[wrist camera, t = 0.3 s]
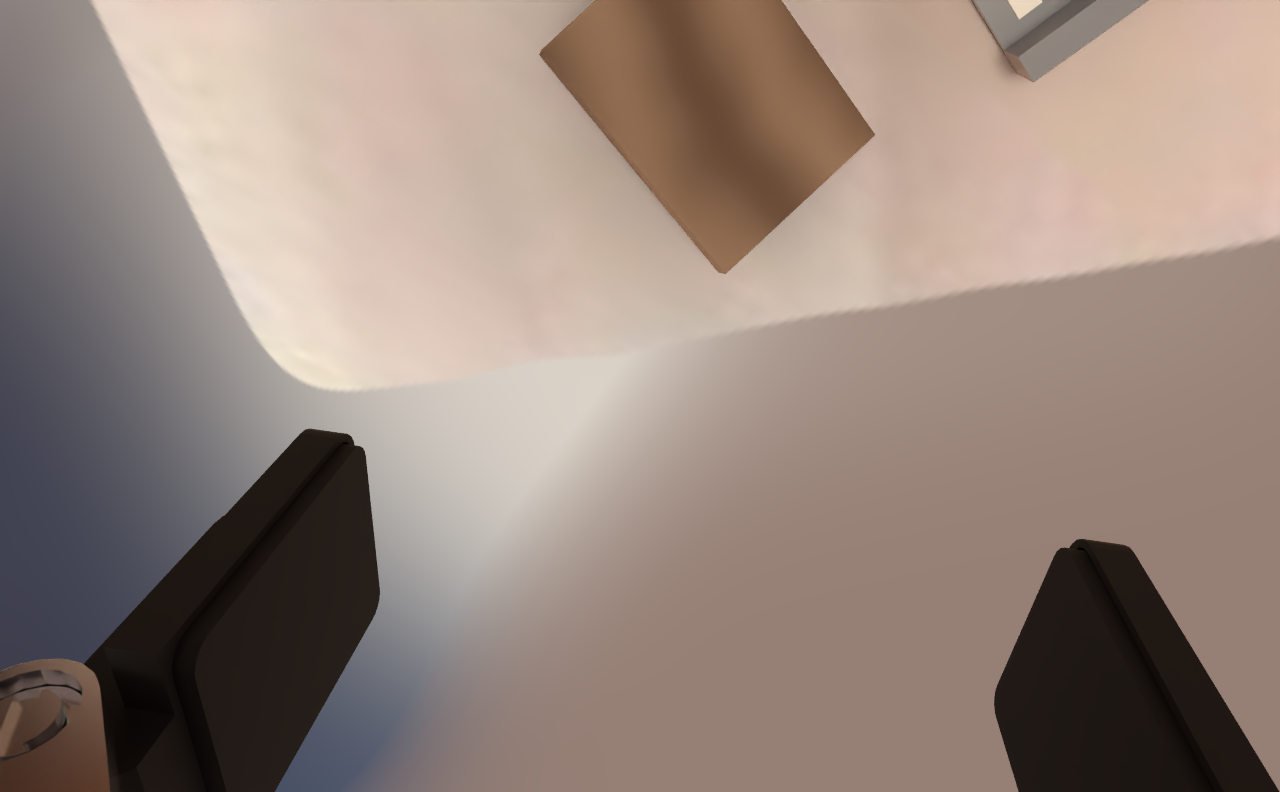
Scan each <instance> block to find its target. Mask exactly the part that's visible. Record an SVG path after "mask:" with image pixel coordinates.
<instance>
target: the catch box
mask: <svg viewBox="0 0 1280 792" xmlns="http://www.w3.org/2000/svg"><path fill="white" fill-rule="evenodd" d="M972 1H973V3H974V5H975V6H976V8H977V10H978V11H979V13H980V14H981V16H982V18H983V19H984V21H985V23H986V24H987V26H988V28H989V29H990V31H991V32H992V34H993V36H994V37H995V39H996V41H997V42H998V44H999V45H1000V47H1001V49H1002V50H1003V52H1004V54H1005V55H1006V57H1007V59H1008V60H1009V62H1010V63H1011V65H1012V67H1013V68H1014V70H1015V72H1016V73H1017V74H1019V75H1021V76H1023V77H1025V78H1027V79H1028V80H1030V81H1032V82H1035V81H1036V80H1037V79H1039V78H1040V77H1042V76H1043V75H1044V74H1046V73H1047V72H1049V71H1050V70H1051V69H1053V68H1054V67H1056V66H1057V65H1059V64H1060V63H1061V62H1063V61H1064V60H1066V59H1067V58H1068V57H1070V56H1071V55H1073V54H1074V53H1075V52H1077V51H1078V50H1080V49H1081V48H1083V47H1084V46H1085V45H1087V44H1088V43H1090V42H1091V41H1092V40H1094V39H1095V38H1097V37H1098V36H1099V35H1101V34H1102V33H1104V32H1105V31H1106V30H1108V29H1109V28H1111V27H1112V26H1114V25H1115V24H1116V23H1118V22H1119V21H1121V20H1122V19H1123V18H1125V17H1126V16H1128V15H1129V14H1130V13H1132V12H1133V11H1135V10H1136V9H1137V8H1139V7H1140V6H1142V5H1143V4H1145V3H1146V2H1147V1H1149V0H972Z"/></svg>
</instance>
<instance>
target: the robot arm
mask: <svg viewBox="0 0 1280 792" xmlns="http://www.w3.org/2000/svg"><path fill="white" fill-rule="evenodd" d="M366 465H367V464H366V456H365V451H364V449H363V448H362V447H360V446H355V445H354V441H353V439H352V437H351V436H350V435H348V434H344V433H337V432H330V431H323V430H316V429H306V430H304V431H303V432H302V433H301V434H300V435H299V436H298V437H297V438H296V439H295V440H294V441H293V442H292V443H291V444H290V446H289V447H288V448H287V449H286V450H285V451H284V452H283V453H282V454H281V455H280V456H279V458H278V459H277V460H276V461H275V462H274V463H273V464H272V465H271V466H270V467H269V468H268V469H267V470H266V471H265V473H264V474H263V475H262V476H261V477H260V478H259V479H258V480H257V481H256V482H255V483H254V484H253V486H252V487H251V488H250V489H249V490H248V491H247V492H246V493H245V494H244V495H243V496H242V497H241V499H240V500H239V501H238V502H237V503H236V504H235V505H234V506H233V507H232V508H231V509H230V510H229V512H228V513H227V514H226V515H225V516H223V517H222V518H220V519H219V520H218V521H217V522H216V523H214V524H213V525H212V527H211V528H210V529H209V530H208V531H207V532H206V533H205V534H204V535H203V536H202V537H201V538H200V539H199V540H198V542H197V543H196V544H195V545H194V546H193V547H192V548H191V549H190V550H189V551H188V552H187V553H186V554H185V556H184V557H183V558H182V559H181V560H180V561H179V562H178V563H177V564H176V565H175V566H174V567H173V568H172V569H171V571H170V572H169V573H168V574H167V575H166V576H165V577H164V578H163V579H162V580H161V581H160V582H159V583H158V585H157V586H156V587H155V588H154V589H153V590H152V591H151V592H150V593H149V594H148V595H147V597H146V598H145V599H144V600H143V601H142V602H141V603H140V604H139V605H138V606H137V607H136V608H135V610H133V611H132V613H131V614H130V615H129V616H128V617H127V618H126V619H125V620H124V621H123V622H122V623H121V624H120V625H119V627H118V628H117V629H116V630H115V631H114V632H113V633H112V634H111V635H110V636H109V637H108V639H106V640H105V642H104V643H103V644H102V645H101V646H100V647H99V648H98V649H97V650H96V651H95V652H94V653H93V654H92V656H91V657H90V658H89V659H88V660H87V661H86V662H85V663H84V664H82V663H78V662H75V661H71V660H67V659H41V660H36V661H32V662H27V663H22V664H18V665H15V666H12V667H10V668H8V669H5V670H3V671H0V792H275V790H276V788H277V786H278V785H279V783H280V781H281V779H282V778H283V776H284V774H285V772H286V771H287V769H288V767H289V765H290V764H291V762H292V760H293V758H294V757H295V755H296V753H297V751H298V750H299V748H300V746H301V744H302V743H303V741H304V739H305V737H306V735H307V734H308V732H309V730H310V728H311V727H312V725H313V723H314V721H315V719H316V718H317V716H318V714H319V712H320V711H321V709H322V707H323V705H324V704H325V702H326V700H327V698H328V697H329V695H330V693H331V691H332V690H333V688H334V686H335V684H336V683H337V681H338V679H339V677H340V675H341V674H342V672H343V670H344V668H345V666H346V665H347V663H348V661H349V660H350V658H351V656H352V654H353V653H354V651H355V649H356V647H357V646H358V644H359V642H360V640H361V638H362V637H363V635H364V633H365V631H366V630H367V628H368V626H369V624H370V623H371V621H372V619H373V617H374V615H375V613H376V609H377V607H378V602H379V596H380V587H379V578H378V570H377V569H378V568H377V560H376V549H375V541H374V531H373V521H372V513H371V503H370V492H369V483H368V473H367V466H366ZM994 706H995V714H996V718H997V721H998V725H999V728H1000V731H1001V735H1002V738H1003V741H1004V745H1005V748H1006V751H1007V754H1008V758H1009V761H1010V764H1011V768H1012V771H1013V774H1014V778H1015V781H1016V784H1017V788H1018V791H1019V792H1279V791H1278V789H1277V787H1276V785H1275V784H1274V782H1273V781H1272V779H1271V777H1270V776H1269V774H1268V772H1267V771H1266V769H1265V767H1264V766H1263V764H1262V762H1261V761H1260V759H1259V757H1258V756H1257V754H1256V753H1255V751H1254V749H1253V748H1252V746H1251V744H1250V743H1249V741H1248V739H1247V738H1246V736H1245V734H1244V733H1243V732H1242V729H1241V728H1240V726H1239V725H1238V723H1237V721H1236V720H1235V718H1234V716H1233V715H1232V713H1231V711H1230V710H1229V708H1228V706H1227V705H1226V703H1225V702H1224V700H1223V698H1222V697H1221V695H1220V693H1219V692H1218V690H1217V688H1216V687H1215V685H1214V683H1213V682H1212V680H1211V679H1210V677H1209V675H1208V674H1207V672H1206V670H1205V669H1204V667H1203V665H1202V664H1201V662H1200V660H1199V659H1198V657H1197V655H1196V654H1195V652H1194V651H1193V649H1192V647H1191V646H1190V644H1189V642H1188V641H1187V639H1186V637H1185V636H1184V634H1183V632H1182V631H1181V629H1180V628H1179V626H1178V624H1177V623H1176V621H1175V619H1174V618H1173V616H1172V614H1171V613H1170V611H1169V609H1168V608H1167V606H1166V605H1165V603H1164V601H1163V600H1162V598H1161V596H1160V595H1159V593H1158V591H1157V590H1156V588H1155V586H1154V585H1153V583H1152V581H1151V580H1150V578H1149V577H1148V575H1147V573H1146V572H1145V570H1144V568H1143V567H1142V565H1141V564H1140V562H1139V560H1138V558H1137V557H1136V555H1135V554H1134V552H1133V551H1132V550H1131V549H1130V548H1129V547H1127V546H1125V545H1120V544H1114V543H1107V542H1100V541H1093V540H1086V539H1079V540H1076V541H1075V542H1074V543H1073V544H1072V545H1071V546H1070V548H1060V549H1059V550H1058V551H1057V552H1056V554H1055V556H1054V558H1053V560H1052V562H1051V565H1050V567H1049V569H1048V571H1047V574H1046V576H1045V578H1044V581H1043V583H1042V585H1041V587H1040V590H1039V592H1038V594H1037V596H1036V599H1035V601H1034V603H1033V606H1032V608H1031V610H1030V612H1029V615H1028V617H1027V619H1026V621H1025V624H1024V626H1023V628H1022V630H1021V633H1020V635H1019V637H1018V639H1017V642H1016V644H1015V646H1014V649H1013V651H1012V653H1011V655H1010V658H1009V660H1008V662H1007V664H1006V667H1005V669H1004V671H1003V673H1002V676H1001V678H1000V680H999V683H998V685H997V688H996V691H995V699H994Z"/></svg>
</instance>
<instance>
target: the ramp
mask: <svg viewBox="0 0 1280 792" xmlns="http://www.w3.org/2000/svg"><path fill="white" fill-rule="evenodd" d="M539 55H540V56H541V57H542V59H543V60H544V61H545V62H546V63H547V65H548V66H549V67H550V68H551V69H552V71H553V72H554V73H555V74H556V76H557V77H558V78H559V79H560V80H561V82H562V83H563V84H564V85H565V87H566V88H567V89H568V90H569V91H570V93H571V94H572V95H573V96H574V97H575V99H576V100H577V101H578V102H579V104H580V105H581V106H582V107H583V108H584V110H585V111H586V112H587V113H588V114H589V116H590V117H591V118H592V119H593V121H594V122H595V123H596V124H597V125H598V127H599V128H600V129H601V130H602V131H603V133H604V134H605V135H606V136H607V138H608V139H609V140H610V141H611V142H612V144H613V145H614V146H615V147H616V148H617V150H618V151H619V152H620V153H621V155H622V156H623V157H624V158H625V159H626V161H627V162H628V163H629V164H630V165H631V167H632V168H633V169H634V170H635V172H636V173H637V174H638V175H639V176H640V178H641V179H642V180H643V181H644V182H645V184H646V185H647V186H648V187H649V189H650V190H651V191H652V192H653V193H654V195H655V196H656V197H657V198H658V199H659V201H660V202H661V203H662V204H663V206H664V207H665V208H666V209H667V210H668V212H669V213H670V214H671V215H672V216H673V218H674V219H675V220H676V221H677V223H678V224H679V225H680V226H681V227H682V229H683V230H684V231H685V232H686V233H687V235H688V236H689V237H690V238H691V240H692V241H693V242H694V243H695V244H696V246H697V247H698V248H699V249H700V251H701V252H702V253H703V254H704V255H705V257H706V258H707V259H708V260H709V261H710V263H711V264H712V265H713V266H714V268H715V269H716V270H717V271H718V272H719V273H724V274H726V273H727V272H728V271H729V270H730V269H731V268H732V267H734V266H735V265H736V264H737V263H738V262H739V261H740V260H741V259H742V258H743V257H744V256H745V255H746V254H748V253H749V252H750V251H751V250H752V249H753V248H754V247H755V246H756V245H757V244H758V243H759V242H760V241H761V240H763V239H764V238H765V237H766V236H767V235H768V234H769V233H770V232H771V231H772V230H773V229H774V228H775V227H777V226H778V225H779V224H780V223H781V222H782V221H783V220H784V219H785V218H786V217H787V216H788V215H789V214H790V213H792V212H793V211H794V210H795V209H796V208H797V207H798V206H799V205H800V204H801V203H802V202H803V201H804V200H806V199H807V198H808V197H809V196H810V195H811V194H812V193H813V192H814V191H815V190H816V189H817V188H818V187H819V186H821V185H822V184H823V183H824V182H825V181H826V180H827V179H828V178H829V177H830V176H831V175H832V174H833V173H835V172H836V171H837V170H838V169H839V168H840V167H841V166H842V165H843V164H844V163H845V162H846V161H847V160H848V159H850V158H851V157H852V156H853V155H854V154H855V153H856V152H857V151H858V150H859V149H860V148H861V147H862V146H864V145H865V144H866V143H867V142H868V141H869V140H870V139H871V138H872V137H873V136H874V135H875V134H874V133H873V131H872V130H871V128H870V127H869V125H868V124H867V123H866V121H865V120H864V118H863V117H862V115H861V114H860V112H859V111H858V110H857V108H856V107H855V105H854V104H853V102H852V101H851V100H850V98H849V97H848V95H847V94H846V92H845V91H844V90H843V88H842V87H841V85H840V84H839V82H838V81H837V79H836V78H835V77H834V75H833V74H832V72H831V71H830V69H829V68H828V67H827V65H826V64H825V62H824V61H823V59H822V58H821V57H820V55H819V54H818V52H817V51H816V49H815V48H814V47H813V45H812V44H811V42H810V41H809V39H808V38H807V36H806V35H805V34H804V32H803V31H802V29H801V28H800V26H799V25H798V24H797V22H796V21H795V19H794V18H793V16H792V15H791V14H790V12H789V11H788V9H787V8H786V6H785V5H784V3H783V2H782V1H781V0H596V1H595V2H594V3H592V4H591V5H590V6H589V7H588V8H587V9H586V10H585V11H584V12H583V13H582V14H580V15H579V16H578V17H577V18H576V19H575V20H574V21H573V22H572V23H571V24H570V25H568V26H567V27H566V28H565V29H564V30H563V31H562V32H561V33H560V34H559V35H558V36H556V37H555V38H554V39H553V40H552V41H551V42H550V43H549V44H548V45H547V46H546V47H544V48H543V49H542V51H541V52H540V54H539Z"/></svg>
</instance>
